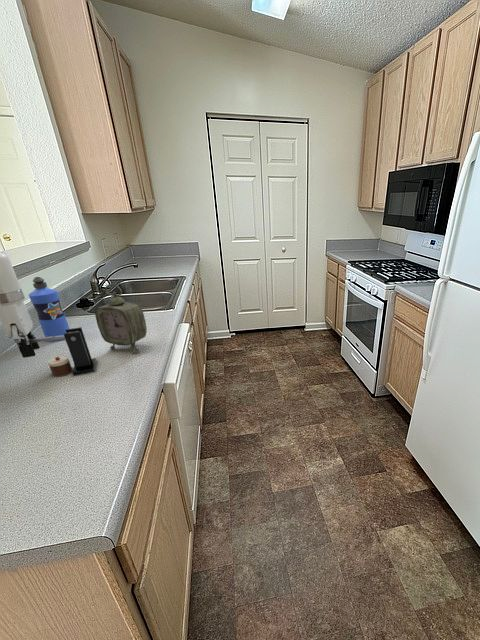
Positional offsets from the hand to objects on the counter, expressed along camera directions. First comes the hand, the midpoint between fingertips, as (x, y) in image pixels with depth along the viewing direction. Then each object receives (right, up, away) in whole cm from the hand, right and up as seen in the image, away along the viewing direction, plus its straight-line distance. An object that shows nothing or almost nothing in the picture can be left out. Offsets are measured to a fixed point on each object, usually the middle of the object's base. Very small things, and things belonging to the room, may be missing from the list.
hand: (31, 352), depth 105 cm
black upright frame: (+12, -5, +9) cm, 15 cm away
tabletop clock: (+20, +2, +23) cm, 30 cm away
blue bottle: (-16, +7, +35) cm, 39 cm away
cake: (+6, -7, +6) cm, 11 cm away
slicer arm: (+6, +3, +1) cm, 7 cm away
